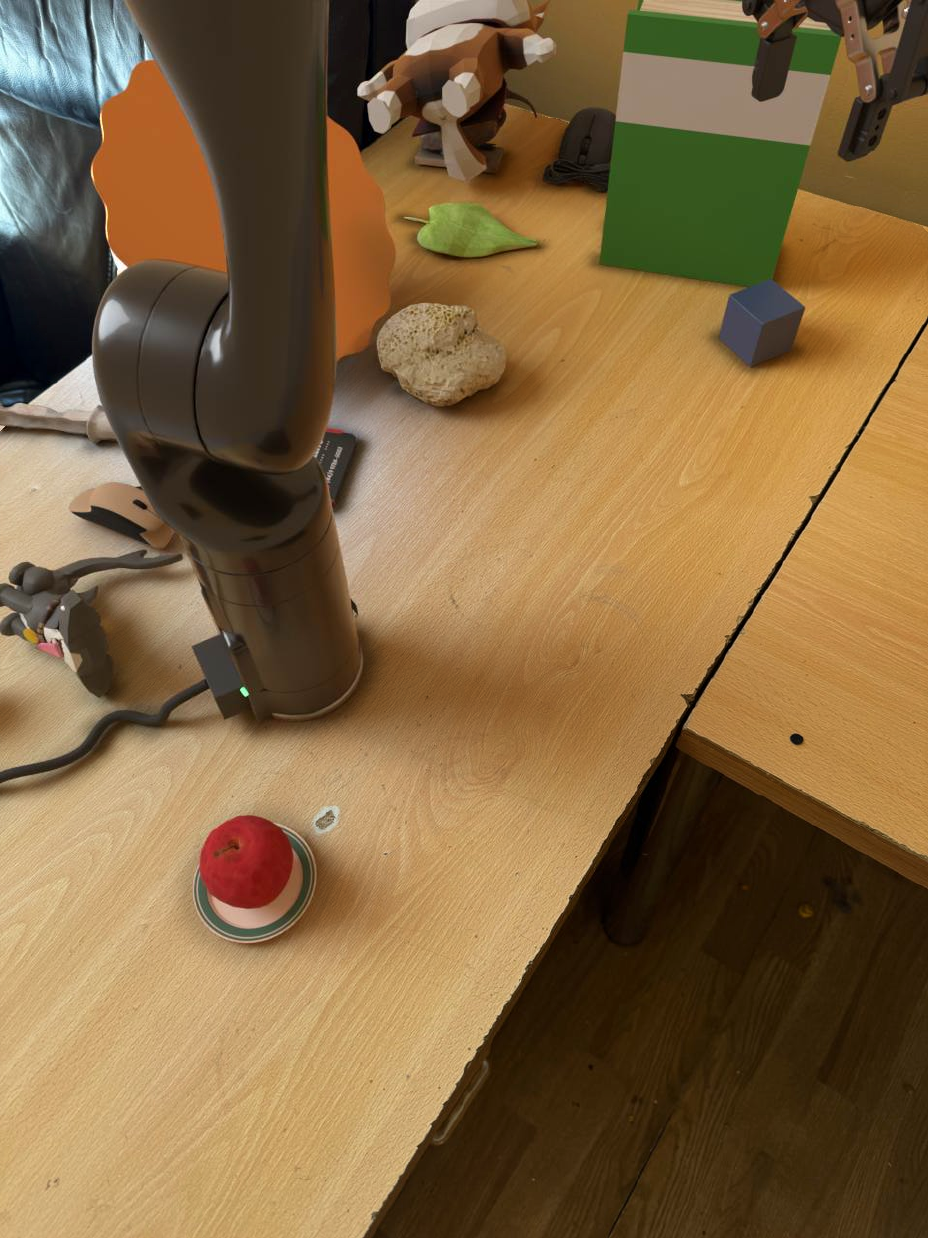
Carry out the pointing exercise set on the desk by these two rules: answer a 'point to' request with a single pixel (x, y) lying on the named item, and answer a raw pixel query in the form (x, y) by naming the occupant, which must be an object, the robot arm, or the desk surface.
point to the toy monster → (68, 613)
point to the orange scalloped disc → (188, 212)
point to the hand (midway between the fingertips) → (808, 125)
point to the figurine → (469, 140)
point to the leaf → (467, 231)
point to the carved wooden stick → (59, 420)
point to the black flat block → (336, 459)
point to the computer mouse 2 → (585, 150)
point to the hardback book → (708, 142)
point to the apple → (253, 879)
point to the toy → (457, 71)
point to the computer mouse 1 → (122, 513)
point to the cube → (761, 322)
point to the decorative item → (439, 353)
